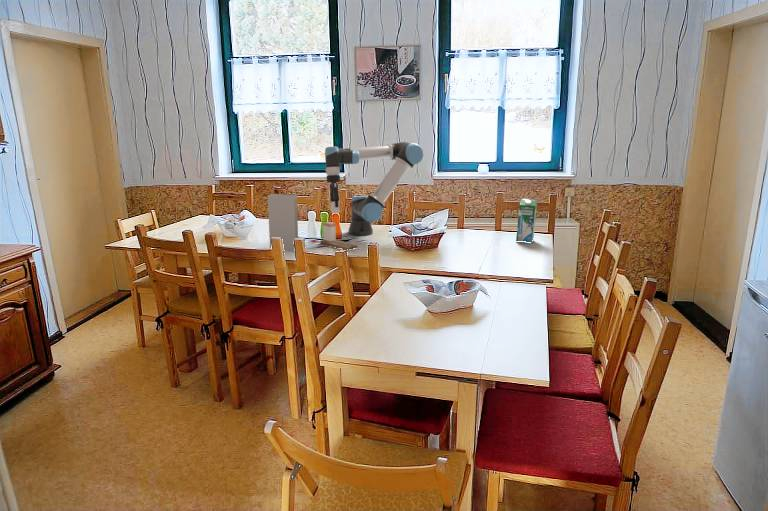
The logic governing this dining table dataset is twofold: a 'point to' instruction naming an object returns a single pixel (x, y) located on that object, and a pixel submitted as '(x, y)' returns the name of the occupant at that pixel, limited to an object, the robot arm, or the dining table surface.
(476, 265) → the dining table surface
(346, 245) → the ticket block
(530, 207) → the milk carton
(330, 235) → the stub
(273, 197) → the tall grey block
